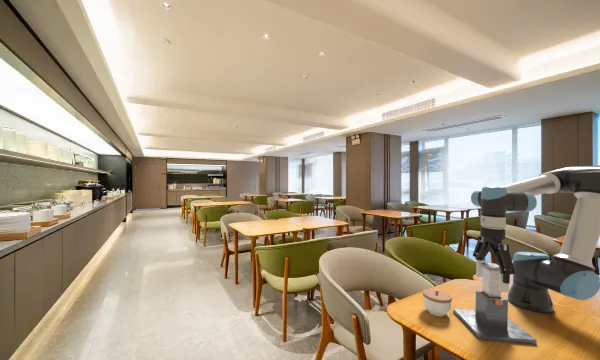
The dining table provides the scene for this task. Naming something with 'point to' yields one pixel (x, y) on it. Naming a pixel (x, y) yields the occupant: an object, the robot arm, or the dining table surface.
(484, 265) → the white square column
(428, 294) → the lidded jar
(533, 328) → the dining table surface
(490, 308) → the stand housing
